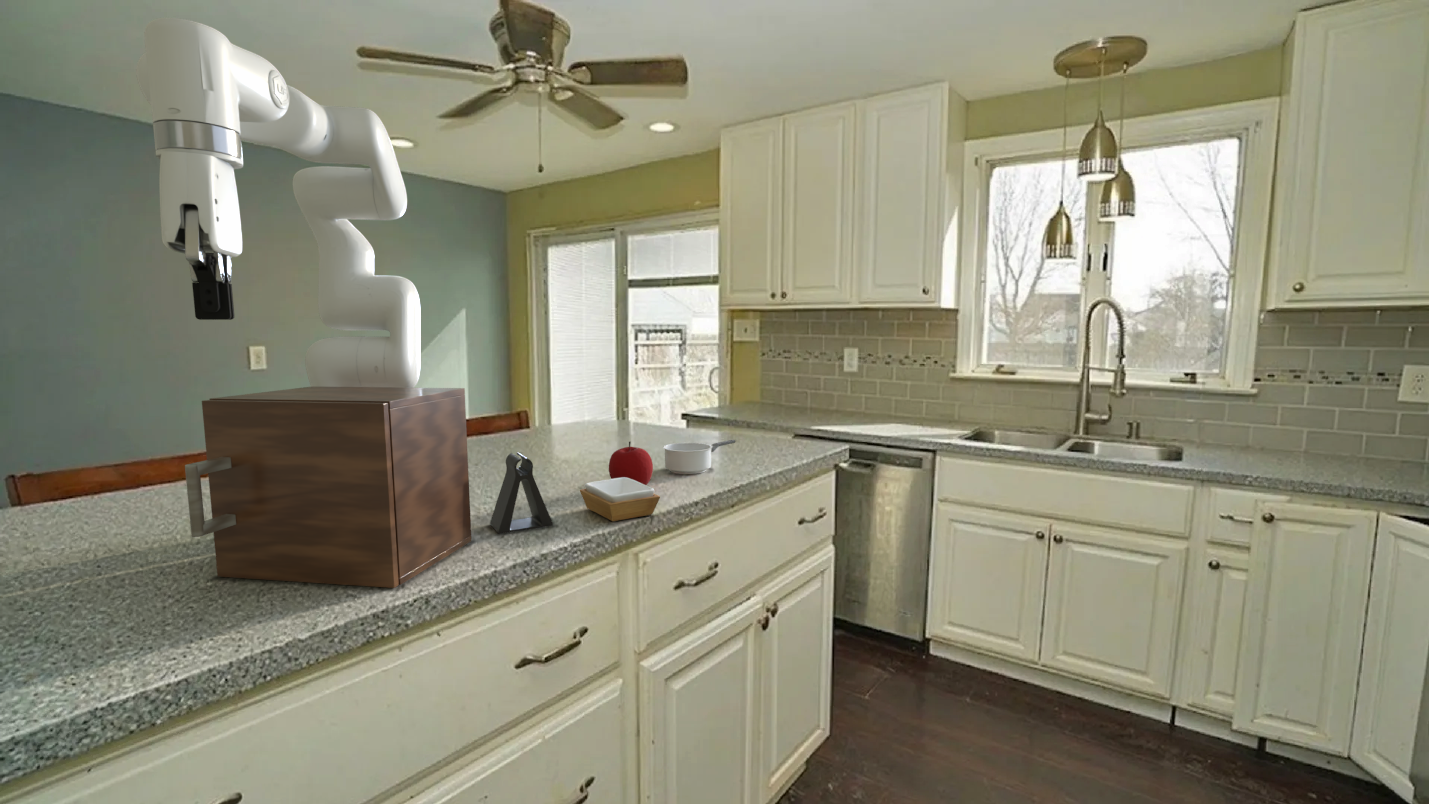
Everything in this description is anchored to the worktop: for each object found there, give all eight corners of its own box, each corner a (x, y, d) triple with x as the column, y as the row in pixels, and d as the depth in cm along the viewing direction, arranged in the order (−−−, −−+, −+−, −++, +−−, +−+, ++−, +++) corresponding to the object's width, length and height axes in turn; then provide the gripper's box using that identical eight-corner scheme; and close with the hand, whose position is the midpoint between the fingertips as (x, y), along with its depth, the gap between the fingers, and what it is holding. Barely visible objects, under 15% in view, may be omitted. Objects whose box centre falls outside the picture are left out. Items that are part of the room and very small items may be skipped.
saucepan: (749, 465, 160) (750, 442, 159) (683, 478, 147) (683, 453, 147) (718, 458, 169) (718, 436, 168) (653, 469, 156) (653, 446, 155)
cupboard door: (365, 605, 80) (352, 408, 77) (178, 592, 84) (159, 405, 81) (399, 585, 86) (388, 402, 84) (223, 574, 90) (208, 399, 88)
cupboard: (400, 585, 86) (389, 401, 84) (224, 574, 91) (209, 398, 88) (471, 541, 104) (464, 388, 101) (322, 534, 108) (311, 386, 106)
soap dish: (579, 509, 122) (578, 482, 122) (627, 501, 128) (626, 475, 127) (610, 525, 112) (609, 496, 112) (660, 516, 118) (660, 488, 117)
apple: (662, 486, 139) (661, 439, 138) (634, 496, 132) (633, 446, 131) (628, 481, 144) (627, 435, 143) (599, 490, 137) (598, 441, 136)
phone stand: (497, 534, 108) (494, 461, 106) (489, 525, 113) (486, 455, 111) (553, 526, 112) (550, 455, 111) (542, 517, 117) (540, 450, 116)
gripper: (183, 160, 78) (198, 319, 80) (124, 126, 64) (144, 319, 66) (259, 166, 80) (272, 319, 83) (218, 133, 67) (234, 319, 69)
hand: (215, 319), depth 74 cm, fingers closed
